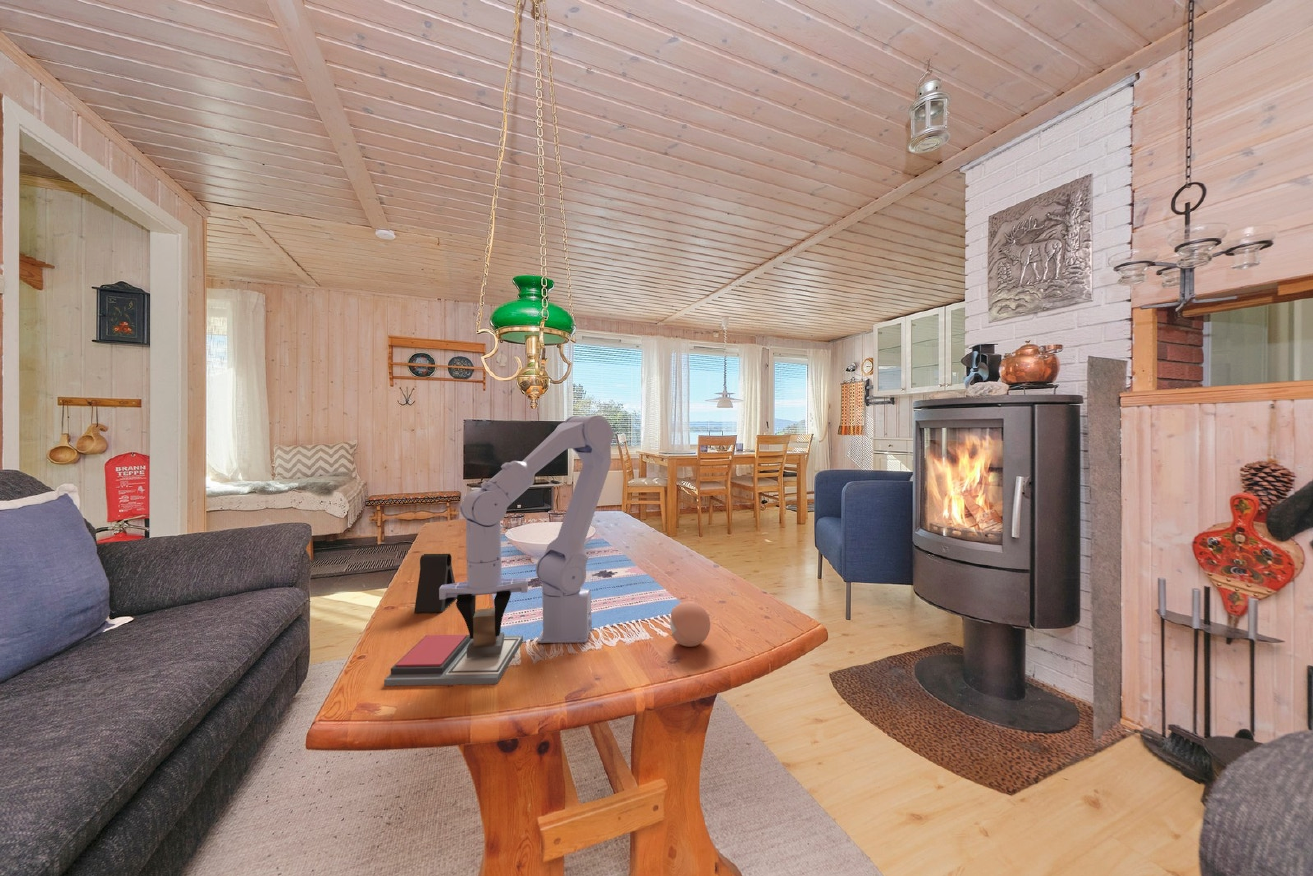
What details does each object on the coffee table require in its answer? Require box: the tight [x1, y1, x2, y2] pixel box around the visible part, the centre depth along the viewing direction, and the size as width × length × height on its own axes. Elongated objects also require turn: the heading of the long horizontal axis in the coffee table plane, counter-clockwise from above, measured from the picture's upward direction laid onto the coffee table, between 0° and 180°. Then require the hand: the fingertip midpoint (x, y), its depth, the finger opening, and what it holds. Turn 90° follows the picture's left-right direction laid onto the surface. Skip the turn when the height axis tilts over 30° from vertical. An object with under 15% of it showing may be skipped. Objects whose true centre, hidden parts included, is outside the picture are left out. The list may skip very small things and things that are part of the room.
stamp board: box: [383, 634, 524, 687], centre depth 82 cm, size 18×15×2 cm
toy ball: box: [669, 600, 711, 648], centre depth 87 cm, size 8×8×8 cm
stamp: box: [467, 607, 505, 658], centre depth 83 cm, size 6×6×6 cm
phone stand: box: [413, 553, 457, 614], centre depth 108 cm, size 9×6×12 cm, turn 0°
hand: (485, 635), depth 82 cm, fingers closed on stamp, 3 cm apart
